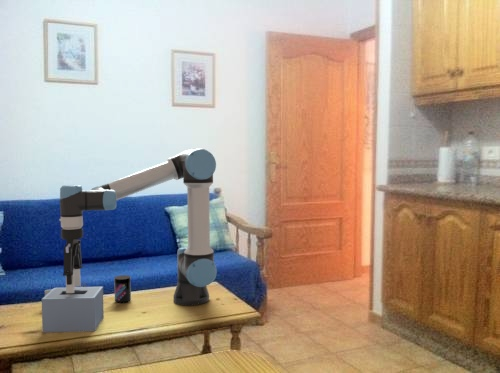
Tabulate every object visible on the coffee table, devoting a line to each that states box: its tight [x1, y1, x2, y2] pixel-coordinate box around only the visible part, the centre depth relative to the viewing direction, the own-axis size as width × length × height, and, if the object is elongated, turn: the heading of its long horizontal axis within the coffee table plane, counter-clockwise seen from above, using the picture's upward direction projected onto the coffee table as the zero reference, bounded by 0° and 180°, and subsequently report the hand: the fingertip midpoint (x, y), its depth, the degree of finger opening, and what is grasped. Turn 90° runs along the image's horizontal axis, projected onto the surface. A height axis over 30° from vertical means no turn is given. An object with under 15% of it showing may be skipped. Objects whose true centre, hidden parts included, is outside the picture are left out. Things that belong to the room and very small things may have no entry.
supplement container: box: [113, 274, 132, 304], centre depth 201 cm, size 7×7×10 cm
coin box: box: [41, 286, 105, 333], centre depth 173 cm, size 18×14×12 cm
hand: (73, 289), depth 173 cm, fingers open, 8 cm apart
